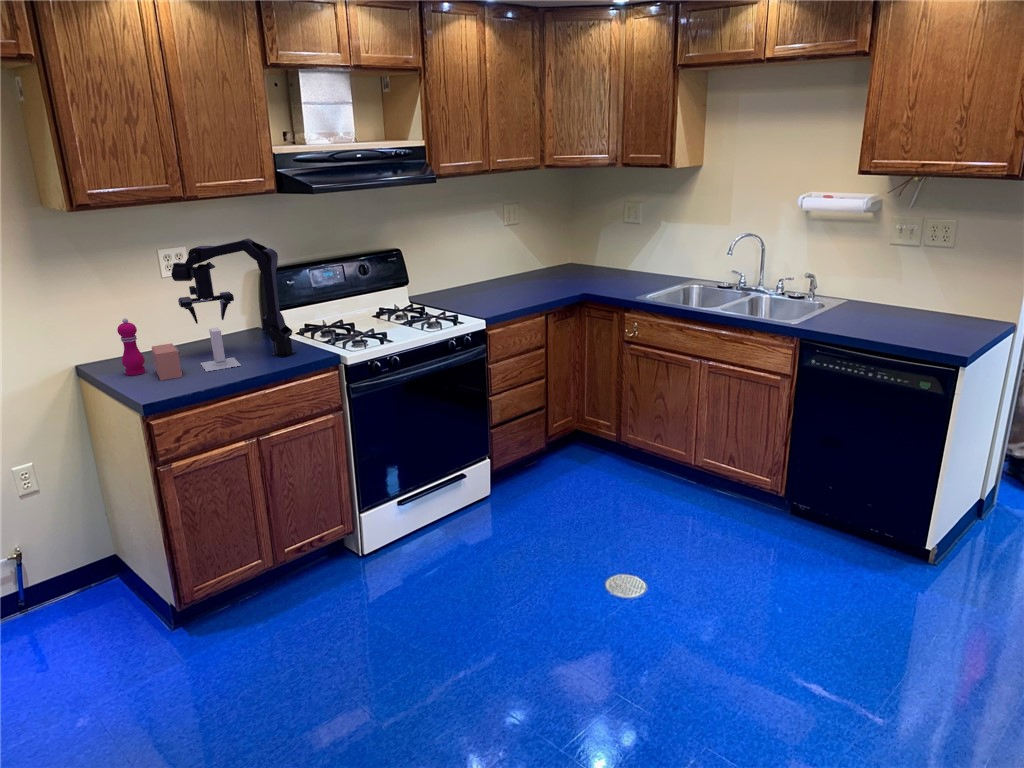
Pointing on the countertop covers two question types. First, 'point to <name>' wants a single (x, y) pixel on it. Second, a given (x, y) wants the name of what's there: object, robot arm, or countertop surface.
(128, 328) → the pepper mill
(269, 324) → the robot arm
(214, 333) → the white rectangular block
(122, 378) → the countertop surface
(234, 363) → the mat
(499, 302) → the countertop surface
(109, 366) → the countertop surface
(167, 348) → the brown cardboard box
